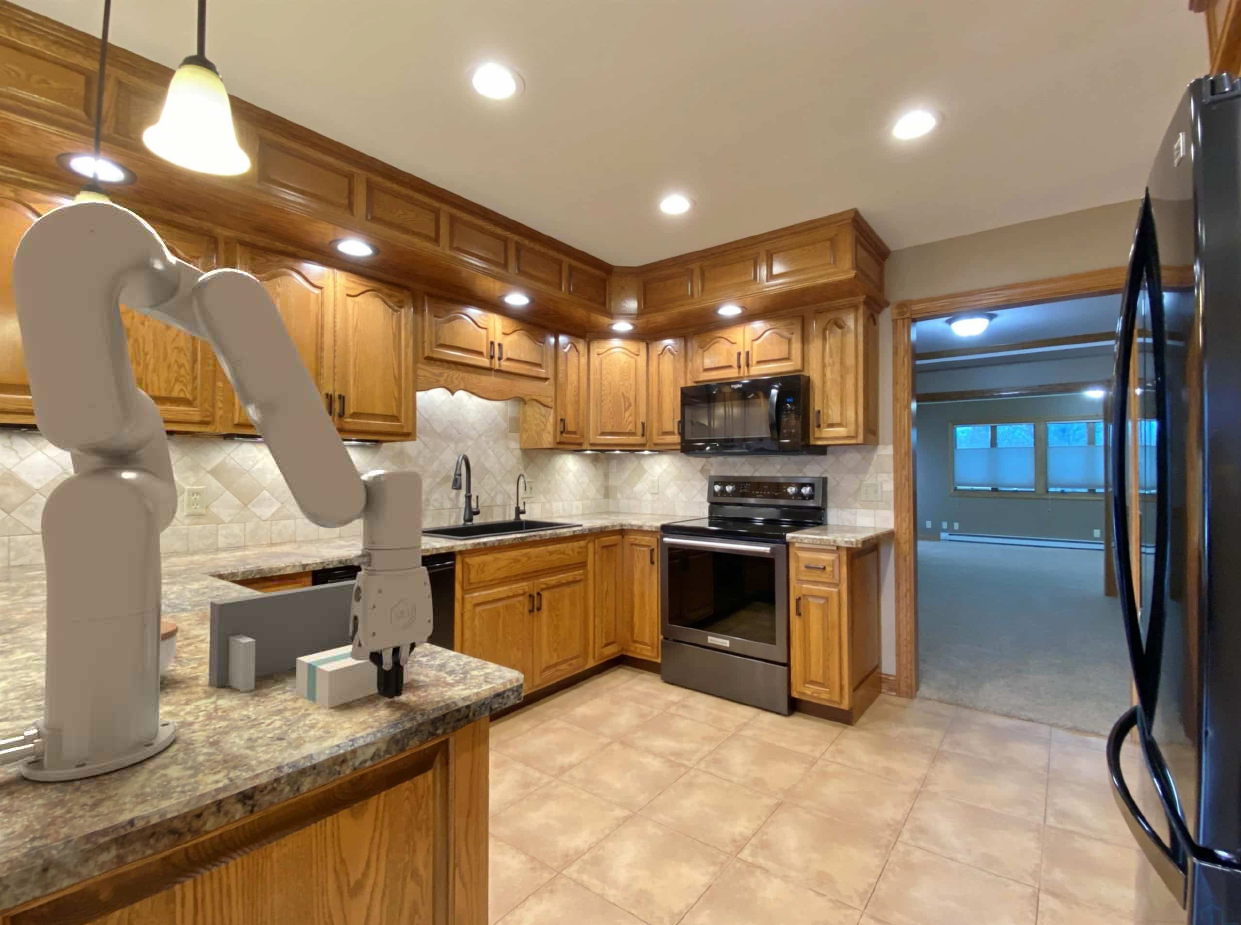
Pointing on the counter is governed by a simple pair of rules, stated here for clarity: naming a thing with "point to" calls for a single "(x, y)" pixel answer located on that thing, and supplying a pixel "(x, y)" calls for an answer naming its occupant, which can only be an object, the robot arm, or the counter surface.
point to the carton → (336, 677)
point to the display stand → (275, 631)
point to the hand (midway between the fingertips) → (390, 694)
